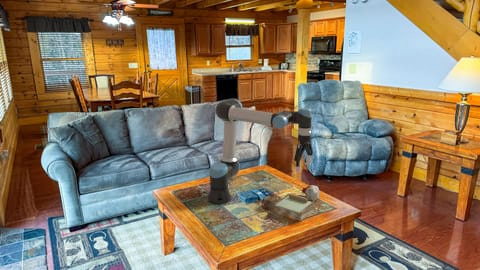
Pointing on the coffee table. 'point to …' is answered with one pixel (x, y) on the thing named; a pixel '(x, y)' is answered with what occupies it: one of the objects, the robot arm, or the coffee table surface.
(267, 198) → the walnut block
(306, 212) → the box
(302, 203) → the lid
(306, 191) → the candle
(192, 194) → the coffee table surface
